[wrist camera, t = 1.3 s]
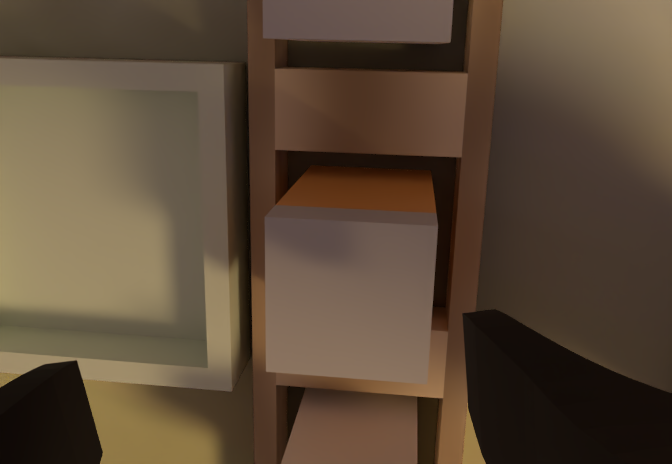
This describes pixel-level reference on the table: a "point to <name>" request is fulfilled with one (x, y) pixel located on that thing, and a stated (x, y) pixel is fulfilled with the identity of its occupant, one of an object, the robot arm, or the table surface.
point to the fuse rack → (374, 138)
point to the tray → (125, 219)
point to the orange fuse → (352, 274)
